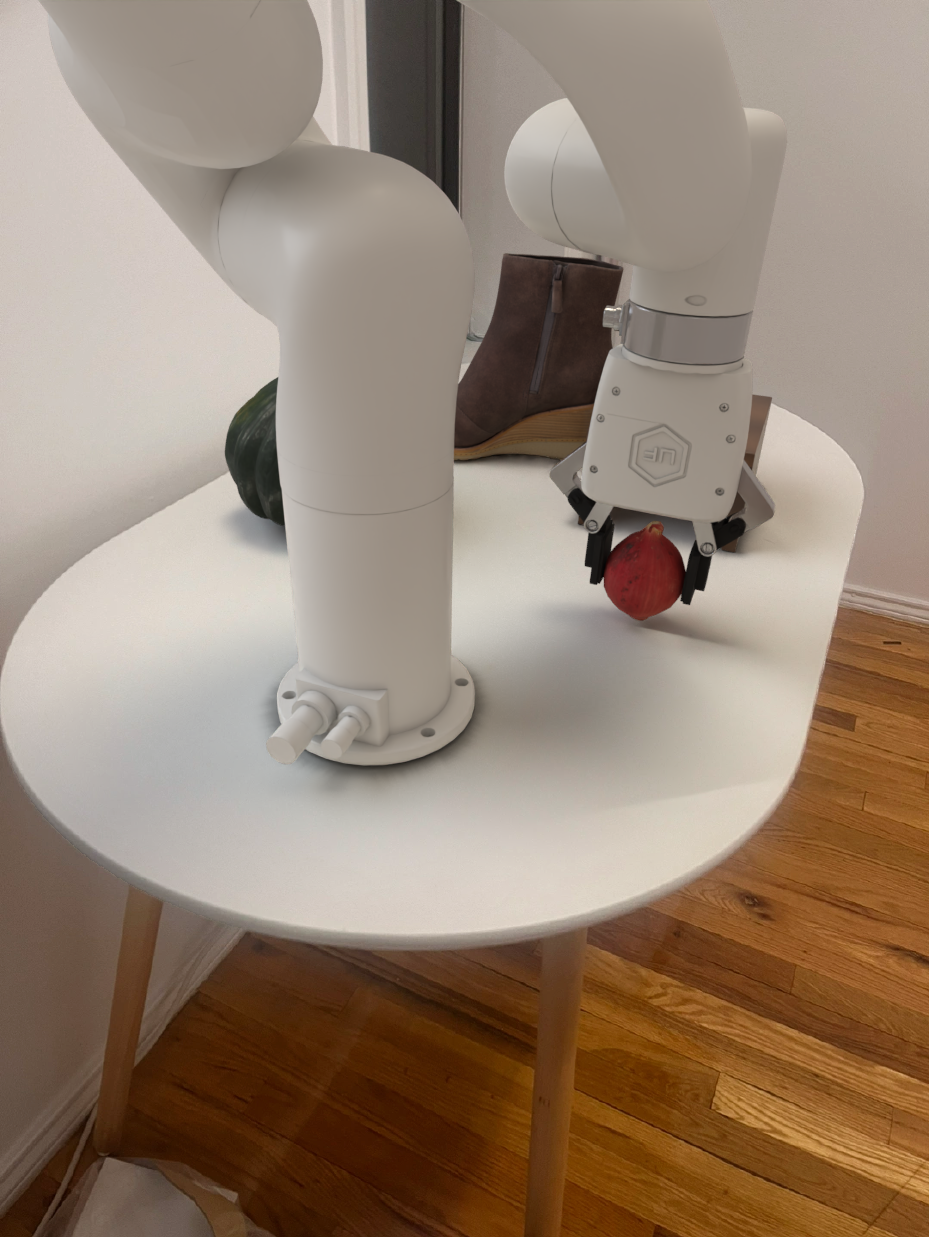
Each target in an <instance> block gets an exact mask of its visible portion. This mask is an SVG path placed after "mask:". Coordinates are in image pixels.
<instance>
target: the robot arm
mask: <svg viewBox="0 0 929 1237" xmlns="http://www.w3.org/2000/svg"><path fill="white" fill-rule="evenodd" d="M456 1H457V2H458V3H460V4H462V5H463V6H465V7H467V8H469V9H470V10H472V11H473V12H475V13H476V14H478V15H480V16H481V17H483V18H484V19H485V20H488V21H489V22H491V23H492V24H494V25H495V26H496V27H498V28H499V29H500V30H502V31H503V32H505V33H506V35H508V36H509V37H511V38H512V39H513V40H514V41H515V42H516V43H517V44H518V45H520V46H521V47H522V48H523V49H524V50H525V51H526V52H527V53H528V54H529V55H530V56H531V57H532V58H533V59H534V60H535V61H536V62H537V63H538V64H539V65H540V66H541V68H542V69H543V70H544V71H545V72H546V73H547V74H548V76H549V77H551V79H552V80H553V81H554V83H555V84H556V85H557V87H558V88H559V89H560V91H561V92H562V93H563V95H564V96H565V97H564V98H560V99H557V100H554V101H552V102H549V103H547V104H546V105H544V106H542V107H541V108H539V109H537V110H536V111H534V113H532V114H531V115H530V116H528V118H526V120H525V121H524V122H523V123H522V124H521V125H520V127H519V128H518V130H517V131H516V132H515V134H514V135H513V138H512V140H511V142H510V144H509V147H508V149H507V152H506V156H505V161H504V169H503V172H504V173H503V178H504V188H505V192H506V195H507V199H508V202H509V204H510V206H511V208H512V210H513V212H514V213H515V215H516V216H517V218H518V219H519V221H520V222H521V223H522V224H523V225H524V226H525V227H526V228H527V229H529V230H530V231H531V232H533V233H534V234H535V235H536V236H538V237H540V238H542V239H544V240H545V241H548V242H550V243H553V244H555V245H558V246H561V247H565V248H569V249H572V250H576V251H579V252H583V253H586V254H590V255H596V256H602V257H604V258H605V257H606V258H608V259H612V260H615V261H619V262H622V263H625V264H627V265H628V264H629V265H632V273H631V279H630V287H629V294H628V299H627V300H626V301H625V302H624V303H623V304H618V305H617V306H616V305H615V306H608V305H607V306H606V308H605V311H604V315H603V327H608V328H612V329H613V331H615V332H618V337H619V336H620V344H618V345H616V346H614V347H613V349H611V350H610V351H609V353H608V356H607V359H606V362H605V365H604V368H603V371H602V375H601V379H600V382H599V386H598V390H597V394H596V399H595V403H594V408H593V412H592V417H591V422H590V428H589V433H588V439H587V441H586V442H584V443H583V444H582V445H580V446H579V447H578V448H576V449H575V450H574V451H573V452H571V453H570V454H569V455H567V456H566V457H565V458H563V459H562V460H559V461H557V463H555V465H554V466H553V467H551V469H550V471H549V473H548V475H549V478H550V480H551V481H552V482H553V484H554V485H555V486H556V487H557V488H558V490H559V491H560V492H561V493H562V494H563V495H564V496H565V497H566V498H567V502H568V504H569V506H570V507H571V508H572V509H573V511H574V512H575V513H576V514H577V517H578V516H579V517H580V518H581V519H582V521H583V522H584V525H583V528H584V530H585V531H586V533H587V541H586V549H585V557H584V567H586V568H591V569H590V574H589V575H590V576H589V584H590V585H595V586H597V585H600V584H601V583H602V581H603V580H604V569H605V565H606V561H607V558H608V556H609V554H610V552H611V551H612V546H613V539H614V534H615V533H614V532H615V526H616V525H615V523H613V522H614V520H613V519H612V516H611V515H610V514H611V513H612V511H613V509H614V507H615V508H620V509H625V510H629V511H630V510H631V511H634V512H635V511H636V512H641V513H646V514H651V515H656V516H662V517H667V518H673V519H678V520H684V521H690V522H692V527H693V531H694V536H695V539H694V541H693V544H692V547H691V549H690V552H689V554H688V559H687V564H686V568H685V570H686V574H685V579H684V584H683V589H682V594H681V596H680V599H679V602H682V605H687V606H690V605H691V603H692V601H693V597H694V595H695V591H700V592H705V589H706V587H707V583H708V578H709V574H710V569H711V564H712V559H713V556H714V555H715V554H716V553H717V551H718V550H721V548H722V547H723V546H725V545H727V544H729V543H730V542H732V541H734V540H736V539H737V538H739V539H740V538H741V537H742V536H743V535H744V534H745V533H746V532H748V531H751V530H753V529H755V528H757V527H759V526H760V525H762V524H764V523H766V522H767V521H769V520H771V519H772V518H774V516H775V510H776V503H775V502H774V501H773V499H772V497H771V496H770V495H769V493H768V491H767V490H766V489H765V487H764V486H763V485H762V483H761V482H760V480H759V479H758V477H757V475H756V476H755V475H754V473H753V472H752V470H751V469H750V468H749V466H748V465H747V463H746V462H745V460H744V456H745V450H746V445H747V438H748V431H749V424H750V415H751V406H752V394H753V390H754V389H753V387H754V375H753V374H754V373H753V363H752V361H751V360H750V359H748V358H746V357H745V353H746V348H747V344H748V339H749V334H750V329H751V324H752V319H753V314H754V308H755V304H756V298H757V294H758V288H759V285H760V279H761V274H762V269H763V264H764V260H765V254H766V249H767V245H768V240H769V234H770V230H771V225H772V221H773V215H774V211H775V206H776V201H777V195H778V191H779V186H780V182H781V177H782V172H783V168H784V163H785V158H786V151H787V146H788V145H787V144H788V131H787V126H786V124H785V121H784V120H783V118H782V117H781V116H780V115H779V114H777V113H775V112H773V111H771V110H767V109H763V108H753V107H744V105H743V101H742V97H741V94H740V91H739V87H738V84H737V80H736V78H735V75H734V70H733V68H732V64H731V61H730V58H729V54H728V51H727V47H726V45H725V41H724V37H723V35H722V32H721V29H720V27H719V23H718V22H717V19H716V16H715V13H714V11H713V8H712V7H711V4H710V3H709V1H708V0H456ZM38 2H39V3H40V4H41V6H42V7H43V9H44V10H45V11H46V14H47V26H48V35H49V39H50V44H51V48H52V52H53V56H54V58H55V61H56V64H57V66H58V69H59V71H60V72H59V73H60V74H61V76H62V79H63V81H64V82H65V84H66V87H67V88H68V90H69V91H70V93H71V95H72V96H73V98H74V100H75V101H76V103H77V104H78V106H79V107H80V109H81V110H82V112H83V113H84V115H85V116H86V117H87V118H88V120H89V121H90V123H91V124H92V125H93V127H94V129H96V131H97V133H99V134H100V135H101V137H102V139H104V140H105V142H106V143H107V144H108V146H109V147H110V148H111V149H112V150H113V152H114V153H115V154H116V155H117V156H118V158H119V159H120V160H121V162H123V164H124V165H125V166H126V167H127V168H128V170H129V171H130V172H131V174H132V175H133V176H134V177H135V178H136V180H138V182H139V183H140V184H141V186H142V187H143V188H144V189H145V190H146V192H148V194H149V195H150V196H151V197H152V199H153V201H155V202H156V203H157V205H158V206H159V207H160V208H161V209H162V211H163V212H164V213H165V214H166V215H167V217H169V219H170V220H171V221H172V223H173V224H174V225H175V226H176V227H177V228H178V230H179V231H180V232H181V233H182V235H184V237H185V238H186V239H187V240H188V242H189V243H190V244H191V245H192V246H193V247H194V248H195V250H196V251H197V252H198V253H199V254H200V256H201V257H202V258H203V260H204V261H206V263H208V265H209V266H210V267H211V268H212V270H213V271H214V272H215V274H217V275H218V277H219V278H220V279H221V280H222V282H224V284H226V286H227V287H228V288H229V289H230V290H231V291H232V292H233V293H234V294H235V295H236V296H237V297H238V298H239V299H241V301H243V302H244V303H245V304H246V305H248V306H249V307H250V308H252V309H253V311H255V312H256V313H258V314H259V315H260V316H262V317H264V318H266V319H267V320H268V321H270V322H271V323H272V324H273V325H274V326H276V328H277V333H278V341H279V365H278V366H279V367H278V376H277V377H278V386H277V399H276V442H277V456H278V467H279V477H280V485H281V488H282V498H283V508H284V518H285V526H284V528H285V538H286V539H285V540H286V548H287V558H288V559H287V560H288V570H289V576H290V577H289V579H290V590H291V599H292V610H293V611H292V612H293V620H294V631H295V640H296V642H295V643H296V651H297V662H295V663H294V664H293V665H292V666H291V667H290V668H289V669H288V670H287V671H286V672H285V673H284V674H285V675H284V676H283V678H282V679H281V681H280V683H279V686H278V689H277V693H276V705H277V706H276V708H277V713H278V719H279V722H280V725H279V726H278V728H276V730H275V731H274V732H273V733H272V734H271V735H270V736H269V737H268V739H267V740H266V742H265V745H266V751H267V752H268V755H269V756H270V757H271V758H272V759H274V760H275V761H276V762H278V763H280V764H283V765H293V763H295V762H296V761H297V760H298V759H299V757H300V756H301V755H302V753H303V752H304V751H305V750H306V751H307V752H309V753H311V754H314V755H316V756H319V757H321V758H323V759H326V760H330V761H334V762H337V763H341V764H348V765H355V766H387V765H393V764H401V763H405V762H410V761H413V760H416V759H419V758H422V757H425V756H428V755H429V754H432V753H434V752H436V751H439V750H441V749H442V748H444V747H446V746H447V745H448V744H450V743H451V742H453V741H454V740H455V739H456V738H457V737H458V736H459V735H460V734H461V733H462V732H463V731H464V730H465V729H466V727H467V726H468V724H469V723H470V721H471V719H472V717H473V713H474V709H475V701H476V700H475V698H476V688H475V683H474V679H473V678H472V676H471V673H470V672H469V670H468V669H467V667H466V666H465V665H464V664H463V663H462V662H461V661H460V660H459V659H458V658H457V657H456V656H454V655H453V654H452V633H453V632H452V625H453V624H452V622H453V621H452V620H453V562H454V560H453V559H454V558H453V556H454V554H453V553H454V508H455V507H454V504H455V502H454V501H455V500H454V499H455V477H454V474H455V473H454V471H455V470H454V468H455V467H454V466H455V460H454V432H455V414H456V399H457V391H458V384H459V382H460V374H461V367H462V362H463V357H464V352H465V347H466V343H467V337H468V333H469V328H470V322H471V318H472V312H473V305H474V298H475V282H476V281H475V280H476V279H475V278H476V277H475V275H476V274H475V260H474V254H473V248H472V244H471V241H470V237H469V234H468V231H467V228H466V226H465V223H464V222H463V220H462V218H461V215H460V213H459V211H458V210H457V208H456V207H455V206H454V204H453V203H452V201H451V199H450V198H449V197H448V196H447V194H446V193H445V192H444V191H443V190H442V189H441V188H440V187H439V185H437V184H436V183H435V182H434V181H433V180H432V179H430V178H429V177H428V176H427V175H425V174H424V173H423V172H421V171H420V170H418V169H416V168H415V167H413V166H412V165H410V164H408V163H406V162H404V161H402V160H399V159H396V158H394V157H391V156H389V155H385V154H382V153H379V152H378V153H377V152H373V151H368V150H363V149H359V148H355V147H349V146H344V145H335V144H332V142H331V141H330V139H329V137H328V136H327V135H326V134H325V132H324V131H323V129H322V128H321V126H320V124H319V123H318V121H317V120H316V118H315V116H314V115H315V112H316V109H317V107H318V105H319V104H318V103H319V100H320V97H321V93H322V83H323V75H324V74H323V72H324V71H323V70H324V59H323V58H324V57H323V47H322V41H321V35H320V31H319V27H318V24H317V20H316V18H315V15H314V13H313V10H312V8H311V6H310V3H309V1H308V0H38ZM593 469H594V470H593ZM580 470H581V478H580V477H579V475H578V472H579V471H580ZM737 492H738V493H739V494H740V496H741V497H742V499H743V500H744V502H745V503H746V504H747V507H745V508H744V509H742V510H741V511H740V512H736V513H733V514H732V515H730V516H728V513H729V512H730V510H731V508H732V506H733V503H734V500H735V497H736V493H737ZM727 516H728V517H727Z"/></svg>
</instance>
